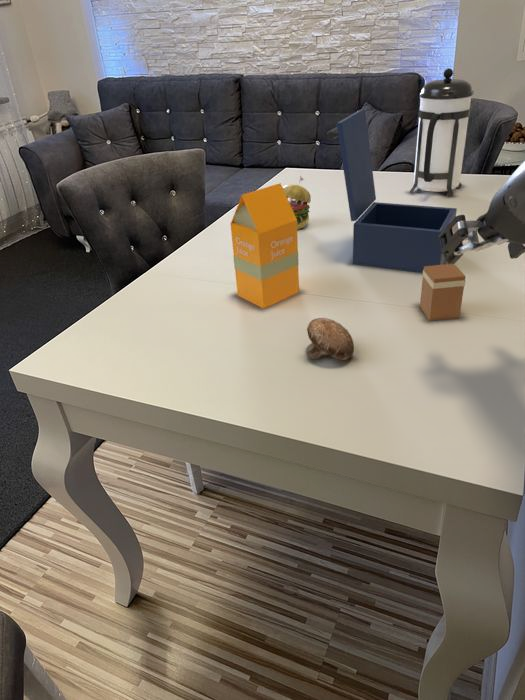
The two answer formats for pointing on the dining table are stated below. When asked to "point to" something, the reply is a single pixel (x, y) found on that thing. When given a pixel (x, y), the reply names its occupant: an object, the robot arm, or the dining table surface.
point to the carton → (442, 291)
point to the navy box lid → (356, 162)
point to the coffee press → (442, 134)
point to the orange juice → (265, 247)
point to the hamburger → (298, 202)
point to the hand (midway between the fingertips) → (480, 254)
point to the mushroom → (329, 340)
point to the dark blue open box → (400, 236)
